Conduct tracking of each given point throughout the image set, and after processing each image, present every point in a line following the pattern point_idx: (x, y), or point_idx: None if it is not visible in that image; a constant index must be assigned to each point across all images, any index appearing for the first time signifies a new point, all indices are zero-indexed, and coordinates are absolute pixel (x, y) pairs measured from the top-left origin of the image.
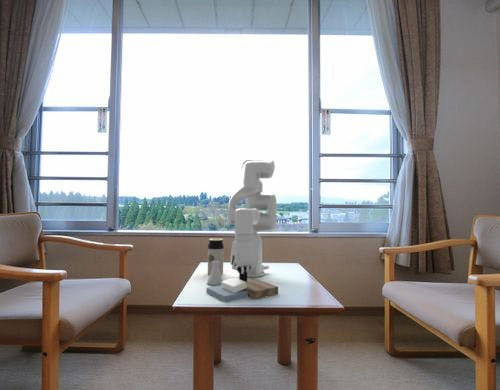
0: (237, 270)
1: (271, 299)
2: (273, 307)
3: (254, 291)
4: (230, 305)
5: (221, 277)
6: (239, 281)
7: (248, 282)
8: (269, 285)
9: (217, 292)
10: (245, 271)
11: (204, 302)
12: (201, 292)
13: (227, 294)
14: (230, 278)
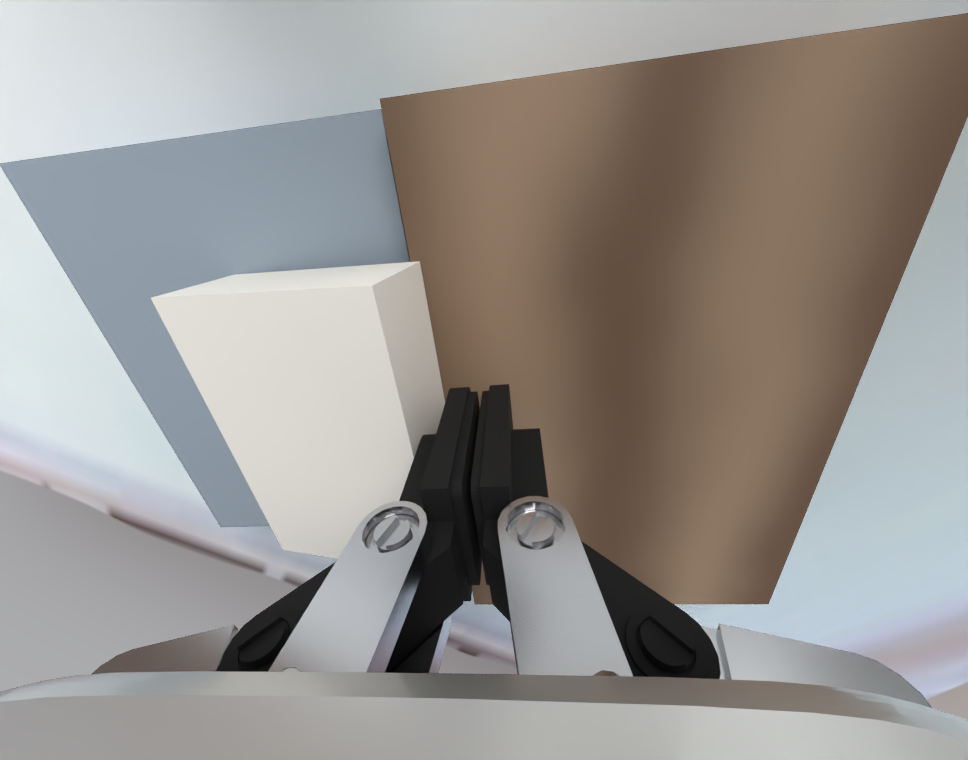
0: (306, 601)
1: None
2: (497, 659)
3: (474, 599)
4: (274, 554)
5: None
6: None
7: (638, 335)
8: (741, 547)
9: (159, 417)
10: (504, 611)
11: (87, 439)
12: (3, 114)
13: (251, 501)
14: (307, 290)
